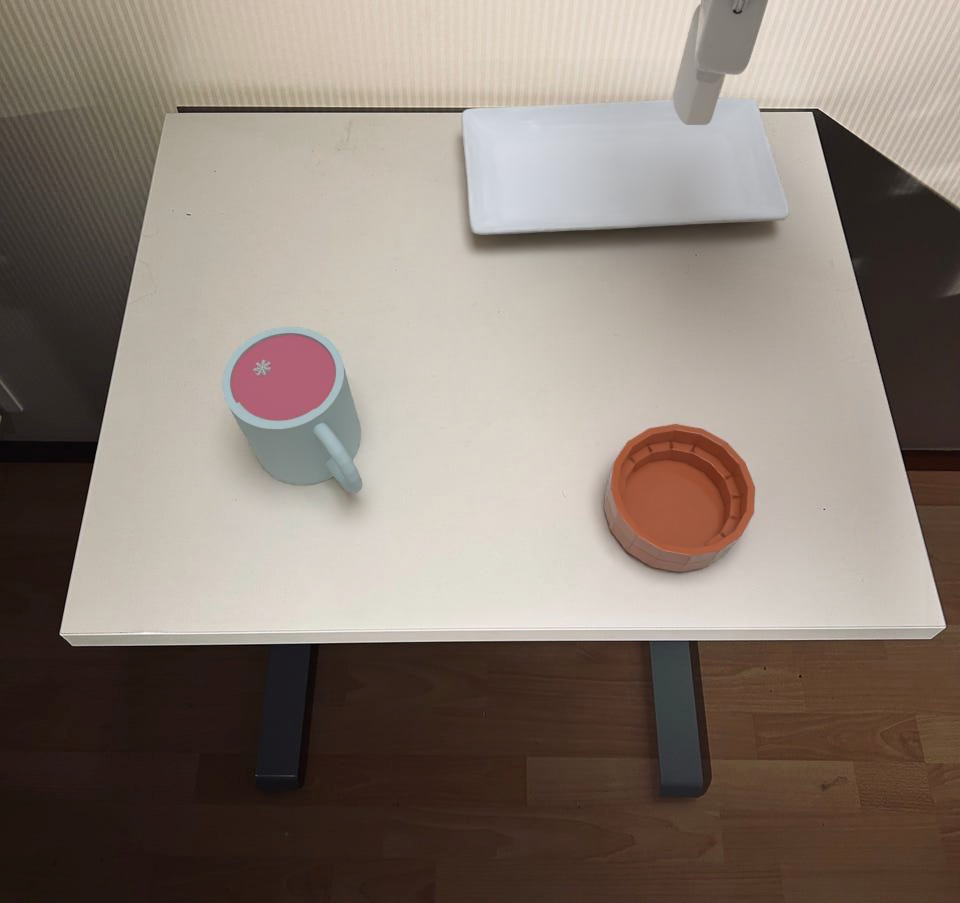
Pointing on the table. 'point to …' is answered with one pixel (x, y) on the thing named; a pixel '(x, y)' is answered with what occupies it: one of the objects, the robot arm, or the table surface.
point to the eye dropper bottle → (694, 85)
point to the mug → (295, 406)
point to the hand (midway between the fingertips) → (709, 46)
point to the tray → (617, 167)
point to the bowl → (678, 497)
